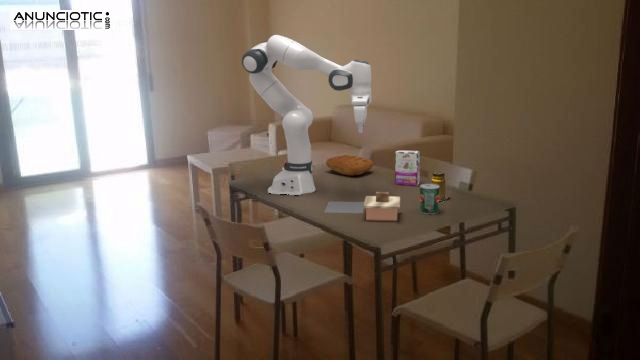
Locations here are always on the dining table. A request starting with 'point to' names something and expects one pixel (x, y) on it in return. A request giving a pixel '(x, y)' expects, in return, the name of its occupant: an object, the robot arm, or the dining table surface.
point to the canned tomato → (429, 198)
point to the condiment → (439, 183)
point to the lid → (382, 201)
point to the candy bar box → (407, 168)
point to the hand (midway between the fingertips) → (361, 130)
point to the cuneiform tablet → (349, 164)
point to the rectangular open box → (381, 214)
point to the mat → (344, 207)
